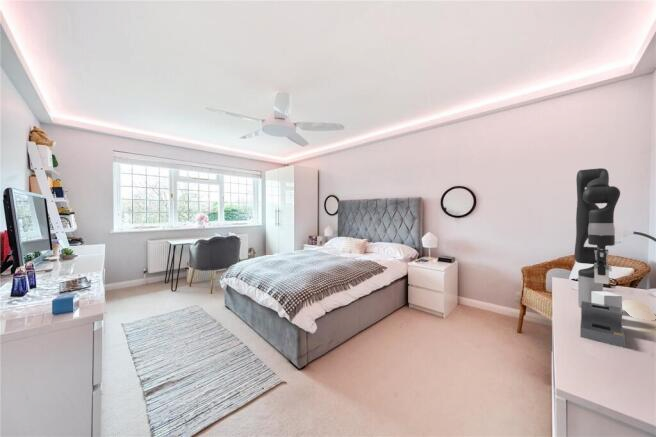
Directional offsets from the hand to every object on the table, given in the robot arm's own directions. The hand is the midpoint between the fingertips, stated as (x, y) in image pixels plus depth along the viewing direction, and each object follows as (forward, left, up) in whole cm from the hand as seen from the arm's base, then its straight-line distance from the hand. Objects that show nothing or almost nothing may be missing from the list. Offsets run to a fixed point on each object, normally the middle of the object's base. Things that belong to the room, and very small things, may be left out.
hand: (601, 274), depth 104 cm
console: (-4, -1, -26) cm, 26 cm away
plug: (0, 0, -4) cm, 4 cm away
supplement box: (-24, -6, -26) cm, 36 cm away
